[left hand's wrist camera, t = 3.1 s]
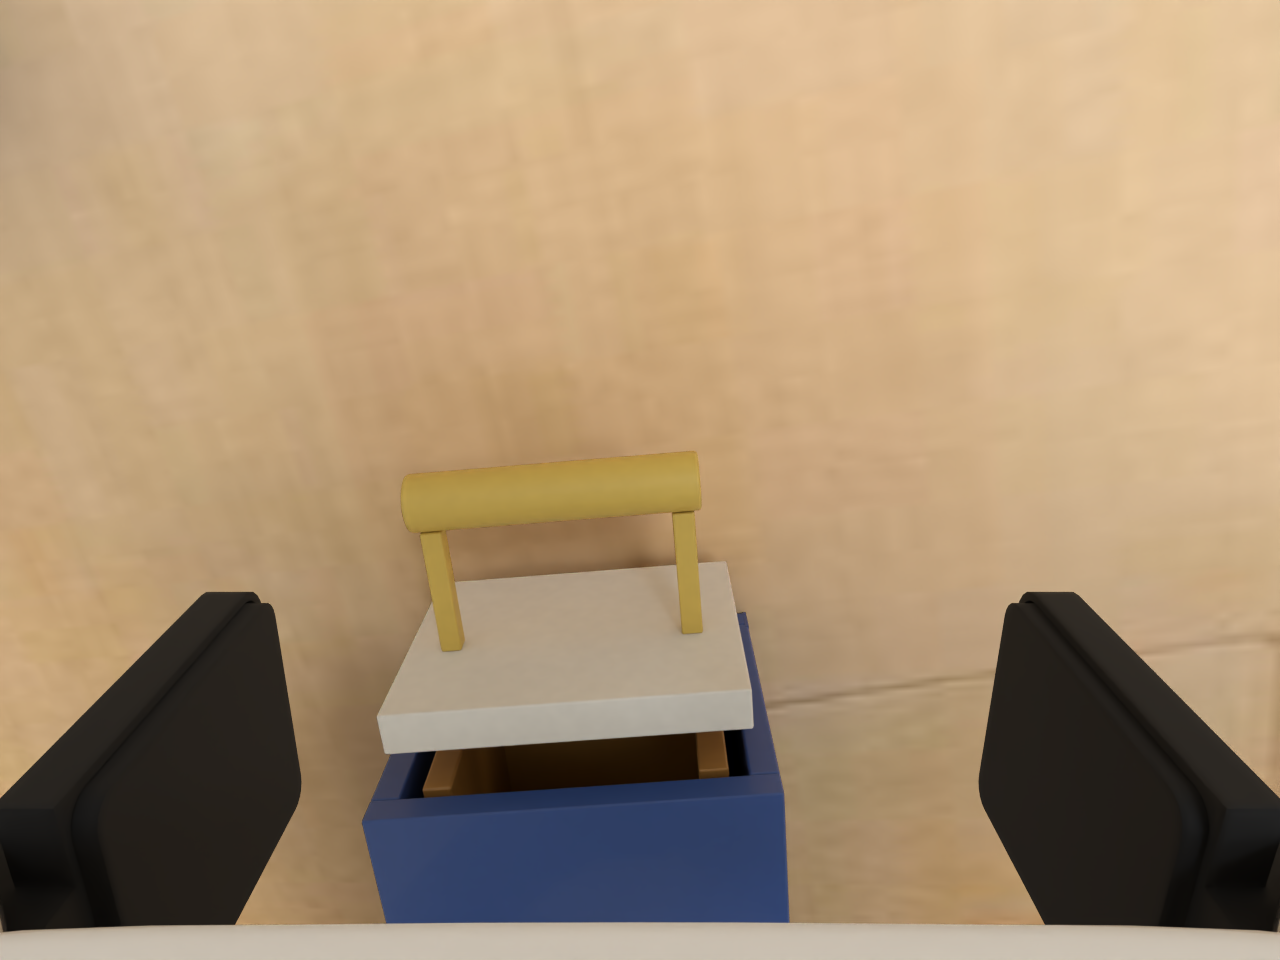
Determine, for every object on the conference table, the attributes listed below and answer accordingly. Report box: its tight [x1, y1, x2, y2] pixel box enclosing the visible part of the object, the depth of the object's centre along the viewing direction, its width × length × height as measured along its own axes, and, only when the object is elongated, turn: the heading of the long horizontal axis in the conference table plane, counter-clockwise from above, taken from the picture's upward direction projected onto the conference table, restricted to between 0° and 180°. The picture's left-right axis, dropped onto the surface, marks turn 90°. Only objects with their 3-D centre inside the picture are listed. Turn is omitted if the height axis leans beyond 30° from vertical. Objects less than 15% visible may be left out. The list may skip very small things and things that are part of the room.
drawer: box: [377, 451, 754, 798], centre depth 28 cm, size 24×10×8 cm, turn 5°
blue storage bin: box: [362, 612, 789, 924], centre depth 30 cm, size 19×11×9 cm, turn 5°
